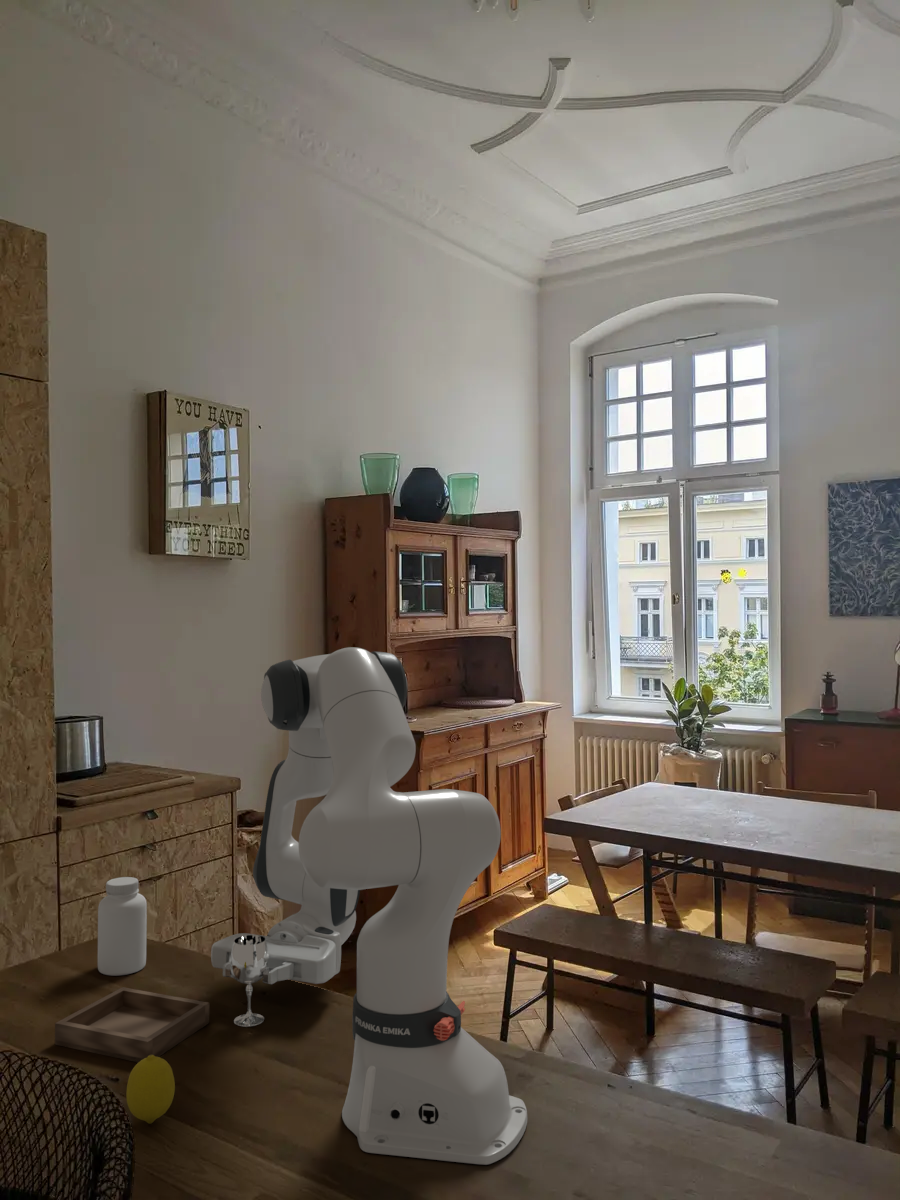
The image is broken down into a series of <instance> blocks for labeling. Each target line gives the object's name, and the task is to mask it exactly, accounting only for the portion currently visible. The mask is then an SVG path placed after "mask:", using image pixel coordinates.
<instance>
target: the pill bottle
mask: <svg viewBox="0 0 900 1200" xmlns="http://www.w3.org/2000/svg"><path fill="white" fill-rule="evenodd" d="M105 891H106V896H104V897H103V898H101V900H100V901H99V903H98V907H97V970H98V972H99V973H100V974H103V975H104V976H105V975H106V976H116V977H117V976H126V975H130V974H133V973H137V972H139V971H142V970H143V969H144V968H145V967H146V964H147V928H148V927H147V926H148V925H147V921H148V919H147V916H148V915H147V914H148V913H147V912H148V911H147V909H148V904H147V899H146V897H145V896H144V895H143V894H141V893H139V892H140V889H139V879H138V878H136V877H131V876H122V877H120V876H119V877H116V878H112V879H108V881H106V882H105Z"/></svg>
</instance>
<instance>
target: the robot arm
mask: <svg viewBox="0 0 900 1200" xmlns="http://www.w3.org/2000/svg"><path fill="white" fill-rule="evenodd" d="M407 697H408V679H407V676H406V672H405V669H404V667H403V664H402V661H400V660H399V658H398V657H397V656H396V655H395V654H393V653H390V652H385V651H384V652H383V651H371V652H370V651H369V650H367V649H365V648H361V647H353V646H352V647H351V646H348V647H344V648H343V647H342V648H341V649H340V648H339V649H337V650H335V651H333V652H331V653H328V654H319V655H313V656H308V657H303V658H299V659H295V660H292V659H286V660H282V661H280V662H276V663H274V664H272V665H270V666H269V668H268V669H267V671H265V673H264V676H263V681H262V685H261V689H260V700H261V705H262V709H263V712H264V713H265V715H266V717H267V719H268V721H269V723H270V724H271V725H272V726H274V727H275V728H276V729H277V730H282V731H288V751H287V756H286V759H283V760H281V761H280V762H279V763H278V764H277V765H276V767H275V768H274V770H273V773H272V774H271V777H270V781H269V785H268V789H267V795H266V801H265V808H264V814H263V821H262V826H261V827H262V829H261V833H260V835H261V836H260V841H259V846H258V849H257V852H256V857H255V859H254V864H253V868H252V876H253V880H254V883H255V885H256V888H257V889H258V891H259V892H260V894H261V895H262V896H263V897H266V898H269V899H270V898H271V899H276V900H280V901H282V900H283V901H287V902H291V903H294V904H298V905H301V907H300V909H299V911H298V912H296V913H293V914H291V915H289V916H288V917H286V918H284V919H282V920H281V921H279V922H277V923H276V924H274V925H273V926H272V927H271V928H270V929H269V931H268V932H267V935H262V934H261V935H260V934H259V935H260V936H263V937H265V939H266V943H267V948H268V954H269V967H268V969H267V970H265V971H264V972H263V978H262V979H261V981H262V983H263V984H266V985H273V984H275V983H277V982H281V981H285V980H290V981H296V982H303V983H309V984H314V985H317V984H319V985H320V984H324V983H326V982H328V981H329V980H330V979H333V977H334V976H335V975H337V974H339V973H340V972H341V965H342V963H341V962H342V961H341V960H342V945H343V944H344V943H345V942H346V941H347V940H348V938H349V937H350V936H351V934H352V933H353V930H354V929H355V927H356V921H357V912H356V909H357V905H358V902H359V898H360V893H361V891H363V890H366V889H367V890H368V889H377V888H386V887H393V886H397V889H396V891H395V893H394V895H393V896H392V898H391V899H390V900H389V902H388V903H387V904H386V905H385V906H384V907H383V908H381V909H380V910H379V911H377V912H376V913H375V914H373V915H372V916H370V918H368V919H367V920H366V922H365V923H364V925H363V926H362V928H361V930H360V932H359V934H358V937H357V940H356V993H355V994H354V995H353V998H352V999H353V1001H352V1014H351V1015H352V1016H351V1017H352V1019H351V1021H352V1022H351V1023H352V1038H353V1039H352V1040H353V1041H354V1045H353V1046H354V1048H353V1058H352V1066H351V1072H350V1080H349V1084H348V1087H347V1088H348V1089H347V1093H346V1097H345V1101H344V1104H343V1107H342V1111H341V1117H342V1121H343V1123H344V1125H345V1126H346V1127H347V1129H348V1130H350V1131H351V1132H352V1133H353V1134H354V1136H356V1137H357V1142H358V1146H359V1148H360V1149H361V1150H362V1151H363V1152H365V1153H369V1154H378V1155H387V1156H388V1155H389V1156H397V1157H405V1158H407V1157H409V1158H417V1159H426V1160H435V1161H436V1160H437V1161H444V1162H453V1163H454V1162H456V1163H462V1164H463V1163H464V1164H471V1165H472V1164H473V1165H485V1166H487V1165H491V1164H493V1163H496V1162H498V1161H499V1160H502V1159H503V1158H505V1157H507V1155H509V1154H510V1153H511V1152H512V1151H513V1150H514V1149H515V1148H516V1147H517V1145H518V1144H519V1142H520V1140H521V1139H522V1137H523V1136H524V1134H525V1131H526V1128H527V1126H528V1110H527V1106H526V1104H525V1102H524V1100H523V1099H521V1098H519V1097H516V1096H512V1095H510V1093H509V1086H508V1080H507V1079H508V1078H507V1075H506V1072H505V1069H504V1066H503V1064H502V1063H501V1061H500V1060H499V1059H498V1058H497V1057H495V1056H494V1054H492V1053H491V1052H489V1051H488V1050H487V1049H486V1048H485V1047H484V1046H483V1045H482V1044H481V1043H479V1042H478V1041H477V1040H476V1039H475V1038H474V1037H472V1035H471V1034H470V1033H468V1032H467V1031H466V1030H465V1029H464V1028H463V1027H462V1015H463V1014H464V1013H465V1011H466V1008H465V1005H466V1001H465V1000H462V1001H461V1002H460V1003H459V1004H458V1005H457V1004H455V1002H454V1001H453V1000H452V998H451V996H450V995H449V993H448V991H447V985H448V984H447V982H448V981H447V980H448V979H447V977H448V976H447V975H448V960H449V959H448V957H449V955H448V954H449V942H450V935H451V930H452V925H453V922H454V919H455V916H456V914H457V912H458V909H459V906H460V904H461V902H462V900H463V898H464V896H465V895H466V893H467V891H468V889H469V888H470V887H471V885H472V884H473V883H474V881H475V880H476V879H477V878H478V876H480V875H481V874H482V873H483V871H484V870H485V869H487V868H488V867H489V866H490V865H491V864H492V863H493V861H494V859H495V857H496V856H497V853H498V851H499V848H500V843H501V836H502V835H501V833H502V832H501V824H500V823H501V822H500V819H499V816H498V813H497V812H496V809H495V807H494V806H493V804H492V803H491V802H490V800H488V799H487V798H486V797H485V796H484V795H483V794H481V793H479V792H473V791H467V790H458V789H450V788H442V789H429V790H420V791H408V792H407V791H406V792H404V791H403V792H402V791H395V790H393V789H392V788H391V787H393V786H394V785H395V784H396V783H398V782H399V781H400V780H401V779H402V778H404V776H405V775H406V774H407V773H408V772H409V770H410V769H411V767H412V766H413V764H414V762H415V757H416V749H417V748H416V741H415V738H414V735H413V733H412V729H411V728H410V724H409V722H408V720H407V716H406V714H405V711H404V707H405V706H406V702H407ZM319 797H323V799H322V800H321V801H320V802H319V803H317V805H316V806H314V807H313V808H312V809H311V810H310V811H309V812H308V814H307V815H306V817H305V819H304V820H303V823H302V825H301V827H300V831H299V837H298V840H296V839H295V838H294V836H293V835H292V831H293V826H294V825H293V824H294V819H295V812H296V805H297V801H300V800H306V799H312V798H313V799H314V798H319ZM245 935H256V933H255V934H254V933H249V932H248V933H246V932H243V933H242V932H241V933H236V934H232V935H230V936H229V935H228V936H227V937H223V938H222V939H219V940H217V941H215V942H214V943H213V944H212V945H211V950H210V951H211V952H210V958H211V959H210V960H211V961H210V962H211V965H212V967H213V968H216V969H222V976H223V977H226V978H230V979H231V978H233V976H232V974H231V971H230V956H231V951H232V946H233V942H234V940H235V939H236V938H238V937H241V936H245ZM233 979H234V978H233Z"/></svg>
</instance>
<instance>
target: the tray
mask: <svg viewBox="0 0 900 1200" xmlns="http://www.w3.org/2000/svg"><path fill="white" fill-rule="evenodd" d="M209 1024H210V1002H208V1001H201V1000H197V999H196V1000H195V999H190V998H184V997H180V996H175V995H168V994H162V993H158V992H152V991H146V990H140V989H135V988H134V989H133V988H129V987H124V986H123V987H120V988H118V989H117V990H114V991H113V992H111V993H109V994H107V995H105V996H104V997H102V998H100V999H98V1000H96V1001H94V1002H92V1003H90V1004H88V1005H86V1006H84V1007H83V1008H81V1009H79V1010H77V1011H75V1012H73V1013H72V1014H69V1015H68V1016H66V1017H64V1018H62V1019H60V1020H58V1021H57V1022H55V1023H54V1045H56V1046H60V1047H64V1048H69V1049H74V1050H77V1051H78V1050H79V1051H83V1052H88V1053H94V1054H98V1055H101V1056H102V1055H103V1056H107V1057H112V1058H117V1059H120V1060H121V1059H122V1060H126V1061H131V1062H136V1063H139V1062H140V1061H141V1060H143V1059H145V1058H147V1057H148V1056H149V1055H154V1056H155V1057H161V1056H162V1055H163V1054H165V1053H167V1052H168V1051H169V1050H171V1049H172V1048H174V1047H175V1046H177V1045H179V1044H180V1043H181V1042H183V1041H185V1040H186V1039H187V1038H189V1037H191V1036H192V1035H194V1034H195V1033H196V1032H198V1031H200V1030H201V1029H203V1028H204V1027H205V1026H207V1025H209Z"/></svg>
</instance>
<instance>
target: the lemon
mask: <svg viewBox="0 0 900 1200" xmlns="http://www.w3.org/2000/svg"><path fill="white" fill-rule="evenodd" d="M136 1063H137V1064H135V1065H134V1067H133V1068H132V1069H131V1071H130V1073H129V1077H128V1079H127V1085H126V1094H125V1095H126V1104H127V1107H128V1109H129V1111H130V1113H131V1114H132V1115H133V1116H134V1117H135V1118H136V1119H139V1120H141V1121H143V1122H144V1121H145V1122H146V1123H147V1124H152V1123H154V1121H156V1119H159V1118H161V1117H162V1116H163V1115H164V1114H166V1112H167V1111H168V1110H169V1109H170V1106H171V1105H172V1103H173V1100H174V1095H175V1092H176V1085H175V1084H176V1082H175V1077H174V1072H173V1068H172V1067H171V1065H170V1063H168V1061H167V1060H166V1059H164V1058H162V1057H161V1056H159V1057H155V1056H154V1055H149V1056H148V1057H147V1058H145V1059H143V1060H141V1061H140V1062H136Z"/></svg>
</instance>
